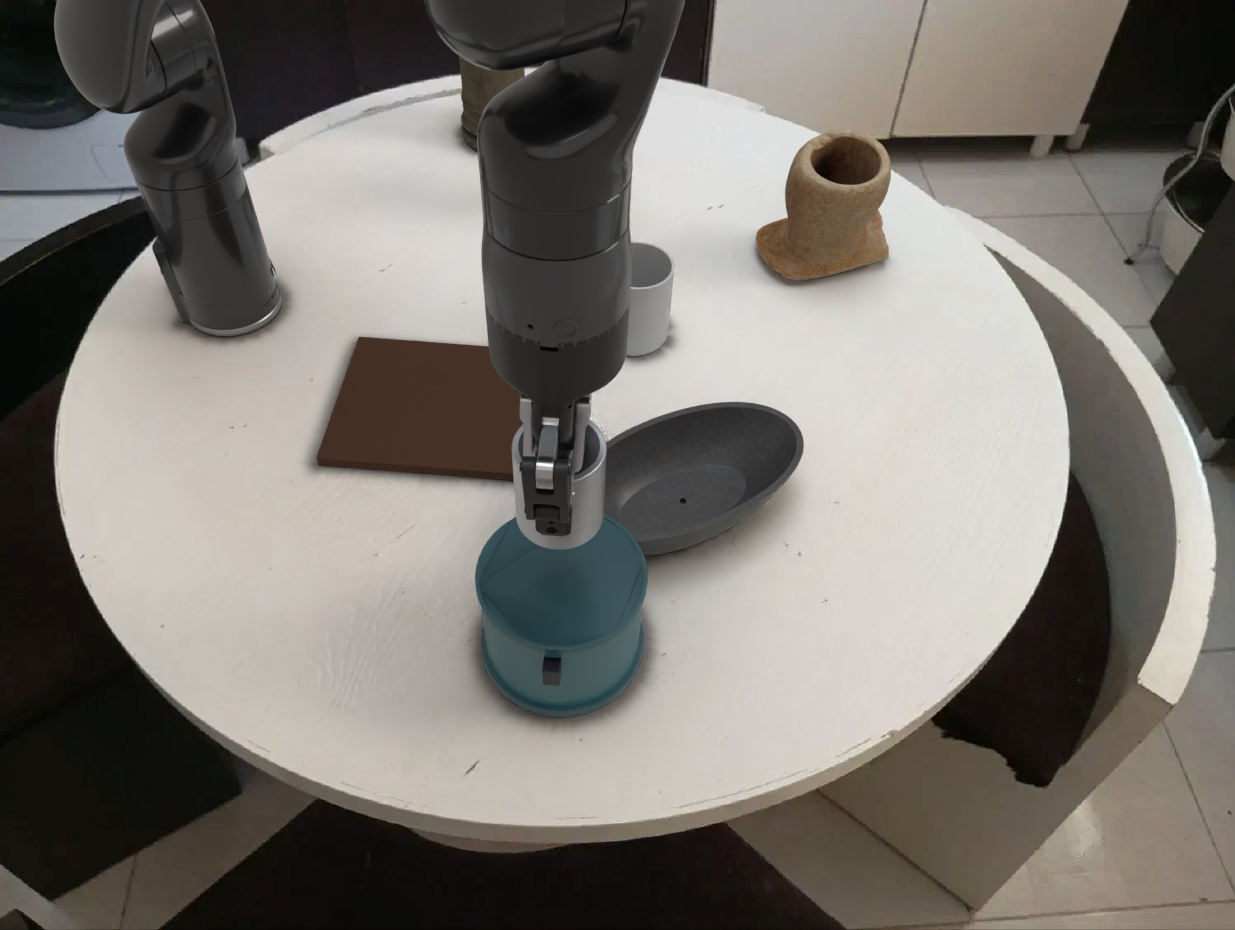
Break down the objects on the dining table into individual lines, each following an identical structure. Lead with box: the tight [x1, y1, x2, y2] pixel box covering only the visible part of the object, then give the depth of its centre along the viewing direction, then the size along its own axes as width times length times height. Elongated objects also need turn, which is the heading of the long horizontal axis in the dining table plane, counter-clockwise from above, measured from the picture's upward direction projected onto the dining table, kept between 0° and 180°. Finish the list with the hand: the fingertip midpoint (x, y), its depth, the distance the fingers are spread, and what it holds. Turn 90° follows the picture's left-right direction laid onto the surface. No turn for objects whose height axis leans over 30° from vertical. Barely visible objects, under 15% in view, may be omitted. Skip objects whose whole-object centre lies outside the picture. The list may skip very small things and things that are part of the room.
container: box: [458, 55, 526, 151], centre depth 118 cm, size 9×9×18 cm
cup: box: [626, 240, 675, 357], centre depth 98 cm, size 7×10×9 cm
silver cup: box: [512, 419, 607, 550], centre depth 63 cm, size 6×6×7 cm
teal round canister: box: [474, 514, 649, 718], centre depth 75 cm, size 13×14×10 cm
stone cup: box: [755, 129, 892, 281], centre depth 105 cm, size 15×12×15 cm
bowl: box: [604, 401, 805, 556], centre depth 85 cm, size 12×22×6 cm, turn 119°
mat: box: [315, 336, 523, 481], centre depth 94 cm, size 20×16×1 cm
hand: (559, 489), depth 64 cm, fingers closed on silver cup, 6 cm apart
